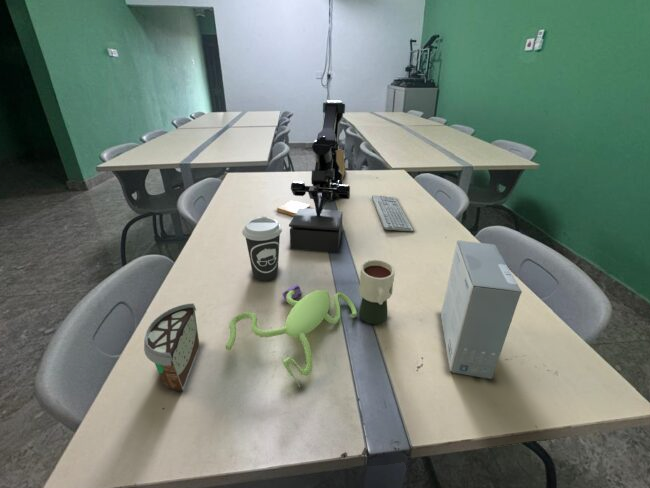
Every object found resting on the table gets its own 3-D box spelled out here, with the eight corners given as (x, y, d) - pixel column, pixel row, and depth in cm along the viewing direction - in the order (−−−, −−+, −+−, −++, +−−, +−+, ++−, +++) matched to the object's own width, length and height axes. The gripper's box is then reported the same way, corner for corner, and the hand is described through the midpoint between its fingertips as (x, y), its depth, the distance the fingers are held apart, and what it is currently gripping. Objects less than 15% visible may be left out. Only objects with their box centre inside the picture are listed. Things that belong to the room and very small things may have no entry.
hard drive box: (493, 381, 57) (523, 293, 49) (449, 373, 58) (471, 286, 50) (474, 319, 71) (495, 243, 63) (439, 314, 72) (455, 238, 64)
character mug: (394, 334, 66) (401, 284, 61) (360, 336, 66) (365, 285, 61) (383, 299, 76) (388, 254, 71) (354, 300, 76) (357, 254, 70)
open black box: (338, 252, 95) (338, 232, 92) (290, 248, 96) (289, 229, 93) (341, 231, 107) (342, 213, 105) (299, 228, 108) (299, 210, 106)
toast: (291, 203, 127) (291, 200, 127) (310, 208, 123) (310, 205, 123) (277, 211, 120) (277, 207, 120) (296, 217, 116) (296, 213, 116)
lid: (338, 230, 91) (338, 228, 91) (288, 226, 92) (288, 224, 92) (342, 213, 105) (342, 210, 104) (299, 210, 106) (299, 207, 105)
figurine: (215, 352, 61) (211, 331, 59) (300, 281, 82) (300, 263, 79) (289, 404, 52) (288, 381, 50) (364, 310, 73) (365, 290, 71)
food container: (170, 341, 63) (160, 302, 59) (202, 340, 64) (194, 301, 59) (140, 401, 52) (126, 358, 48) (179, 399, 52) (168, 356, 48)
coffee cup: (289, 267, 87) (288, 219, 81) (272, 288, 79) (269, 236, 73) (259, 260, 90) (255, 212, 84) (239, 279, 82) (233, 228, 75)
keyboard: (413, 231, 109) (414, 226, 108) (384, 231, 108) (384, 226, 107) (395, 199, 135) (396, 194, 134) (371, 198, 135) (372, 194, 134)
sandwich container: (346, 170, 169) (347, 143, 163) (342, 180, 155) (344, 150, 149) (330, 169, 170) (331, 141, 164) (325, 178, 156) (326, 148, 150)
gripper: (291, 156, 98) (283, 203, 92) (351, 160, 96) (347, 207, 91) (297, 173, 108) (290, 216, 102) (351, 176, 107) (347, 220, 101)
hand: (318, 215), depth 99 cm, fingers closed, pressing on lid
